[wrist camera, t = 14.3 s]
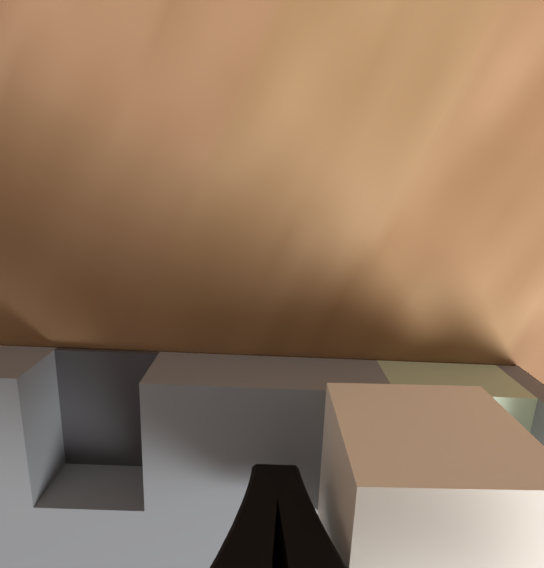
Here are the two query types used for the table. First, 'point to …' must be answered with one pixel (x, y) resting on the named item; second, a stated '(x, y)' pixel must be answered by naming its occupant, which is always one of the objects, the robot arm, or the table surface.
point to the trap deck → (173, 444)
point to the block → (429, 479)
